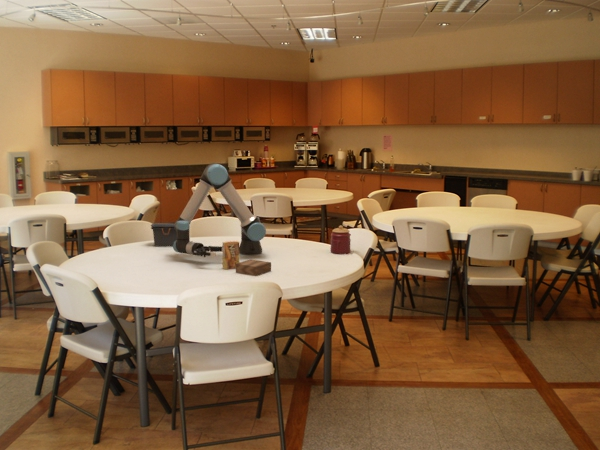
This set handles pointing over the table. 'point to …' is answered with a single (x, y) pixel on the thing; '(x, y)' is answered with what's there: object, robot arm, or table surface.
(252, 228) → the robot arm
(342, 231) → the canister
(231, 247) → the candy box
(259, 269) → the walnut base
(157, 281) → the table surface
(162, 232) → the storage bin
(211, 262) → the table surface
